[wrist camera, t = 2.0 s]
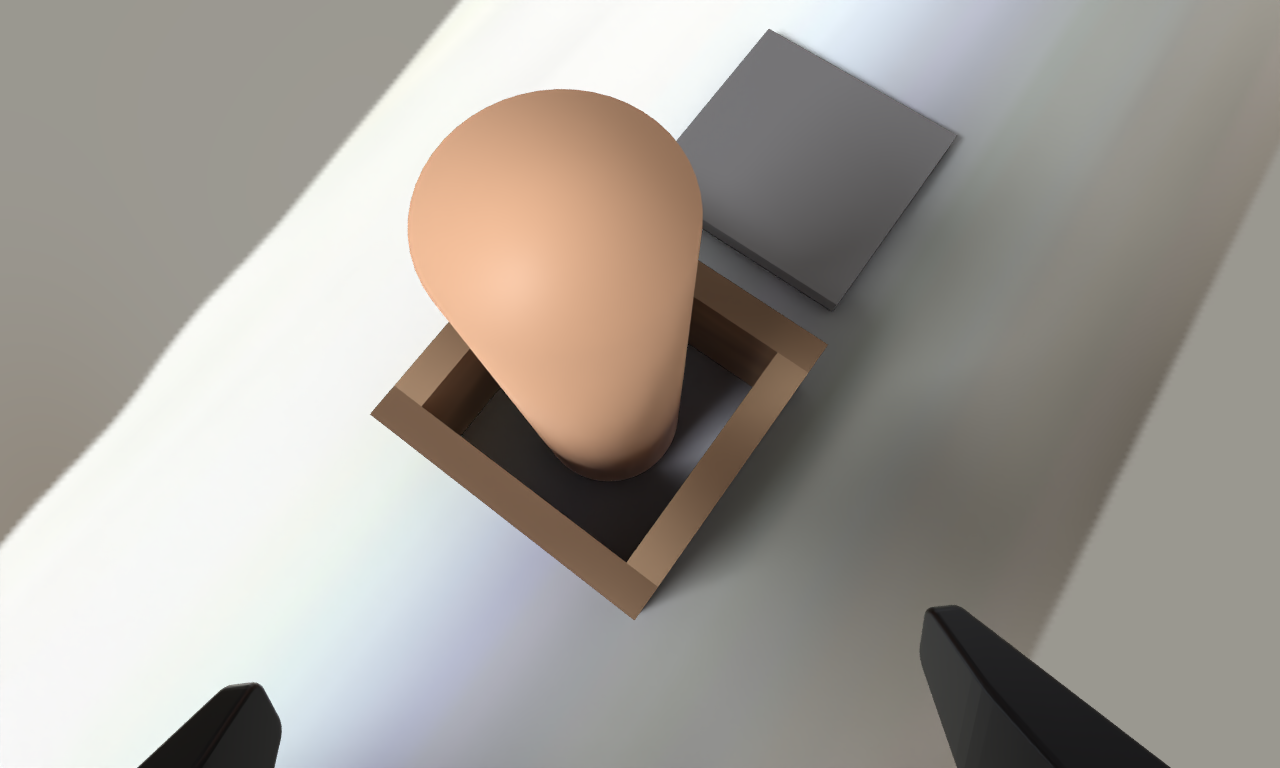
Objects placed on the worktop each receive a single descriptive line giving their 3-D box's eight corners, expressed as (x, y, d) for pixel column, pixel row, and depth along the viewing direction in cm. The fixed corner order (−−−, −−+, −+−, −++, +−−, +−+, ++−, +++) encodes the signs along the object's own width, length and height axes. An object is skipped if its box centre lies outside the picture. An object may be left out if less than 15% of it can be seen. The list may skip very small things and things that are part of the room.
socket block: (638, 613, 21) (634, 620, 18) (417, 442, 23) (369, 414, 19) (799, 384, 23) (827, 344, 19) (584, 240, 25) (571, 177, 21)
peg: (688, 470, 23) (727, 329, 10) (550, 491, 23) (417, 377, 10) (666, 339, 24) (676, 70, 11) (534, 359, 24) (399, 110, 11)
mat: (832, 311, 24) (836, 304, 23) (643, 190, 25) (643, 181, 25) (950, 145, 26) (957, 135, 25) (766, 40, 27) (768, 28, 26)
